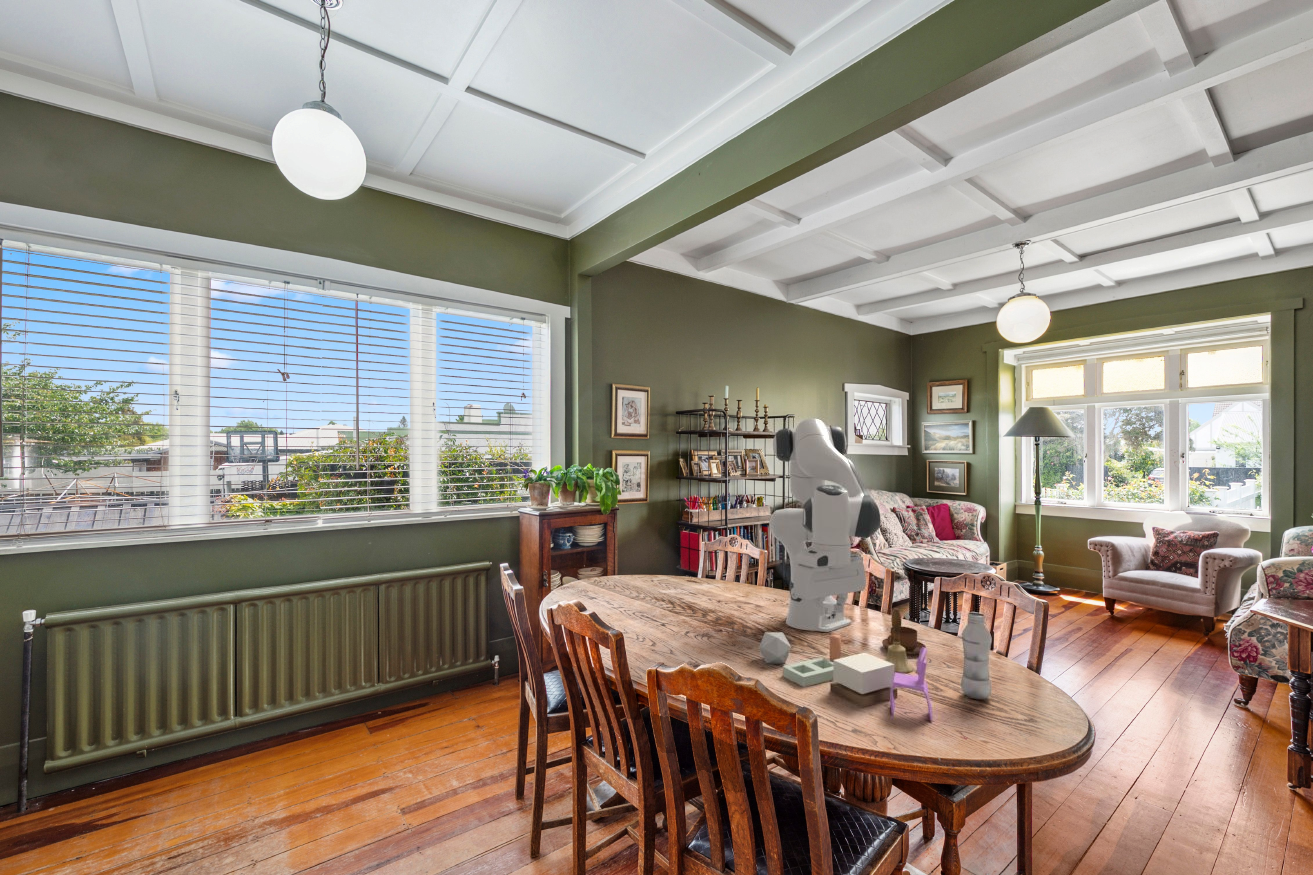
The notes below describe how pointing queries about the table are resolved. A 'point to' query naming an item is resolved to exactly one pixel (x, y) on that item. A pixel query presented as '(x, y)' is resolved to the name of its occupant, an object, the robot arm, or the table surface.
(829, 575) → the robot arm
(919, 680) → the toy chair
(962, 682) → the plastic bottle
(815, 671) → the socket board
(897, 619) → the hand bell
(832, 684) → the pattern board
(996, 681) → the table surface
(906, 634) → the cup and saucer
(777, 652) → the die
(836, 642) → the terracotta peg
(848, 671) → the white block
